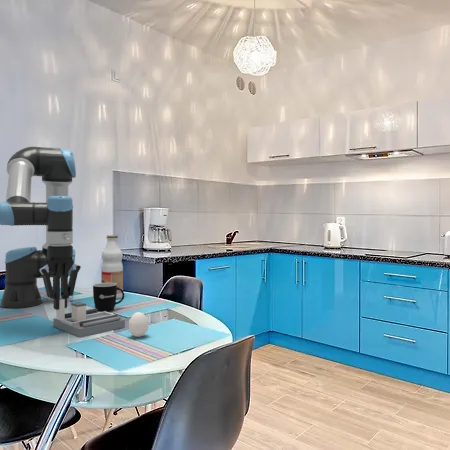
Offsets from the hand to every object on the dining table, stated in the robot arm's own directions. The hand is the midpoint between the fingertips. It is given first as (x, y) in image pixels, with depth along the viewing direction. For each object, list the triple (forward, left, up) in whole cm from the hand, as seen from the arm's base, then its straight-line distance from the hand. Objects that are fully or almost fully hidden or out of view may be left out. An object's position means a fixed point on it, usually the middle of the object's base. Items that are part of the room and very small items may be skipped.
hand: (60, 319), depth 135 cm
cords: (+1, +10, -2) cm, 10 cm away
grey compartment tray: (0, +10, -4) cm, 11 cm away
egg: (+21, +15, -5) cm, 26 cm away
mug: (-17, +28, -5) cm, 33 cm away
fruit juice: (-37, +42, -5) cm, 56 cm away
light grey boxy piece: (0, +6, -2) cm, 6 cm away
